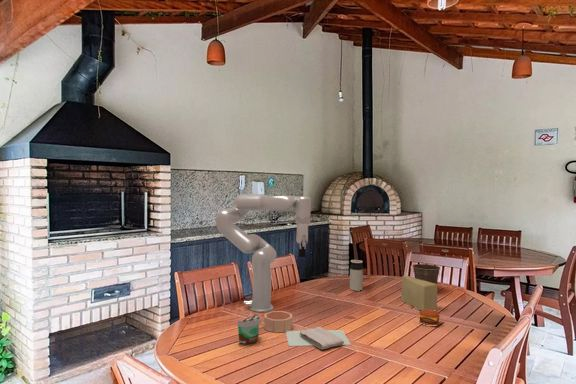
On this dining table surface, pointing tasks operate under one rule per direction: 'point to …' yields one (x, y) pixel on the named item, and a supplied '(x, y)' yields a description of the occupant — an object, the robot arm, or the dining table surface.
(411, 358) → the dining table surface
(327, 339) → the washcloth
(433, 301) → the olive green box
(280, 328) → the bowl
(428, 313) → the hamburger
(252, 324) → the food container
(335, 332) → the mat
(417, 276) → the plant pot
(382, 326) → the dining table surface
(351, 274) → the travel mug
